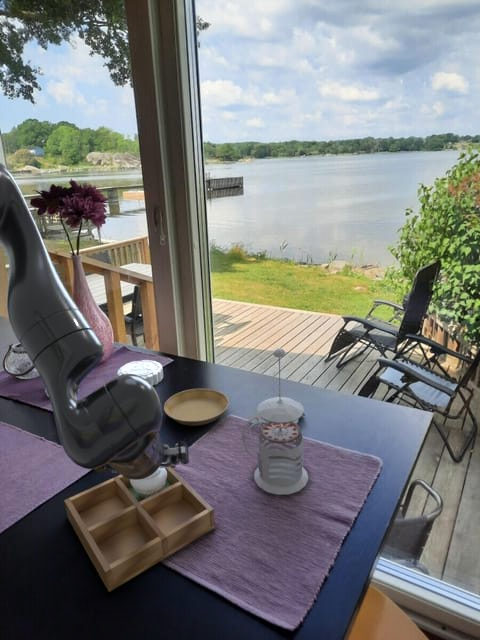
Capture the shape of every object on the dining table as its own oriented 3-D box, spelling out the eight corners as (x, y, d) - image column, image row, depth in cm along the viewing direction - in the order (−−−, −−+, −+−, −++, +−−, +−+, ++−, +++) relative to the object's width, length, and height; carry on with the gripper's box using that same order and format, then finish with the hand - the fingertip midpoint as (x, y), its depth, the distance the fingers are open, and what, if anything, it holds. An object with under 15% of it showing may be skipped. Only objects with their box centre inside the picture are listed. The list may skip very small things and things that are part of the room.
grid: (109, 592, 59) (105, 572, 58) (67, 518, 72) (63, 500, 71) (215, 527, 69) (214, 509, 68) (162, 472, 82) (160, 456, 81)
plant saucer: (187, 393, 111) (186, 383, 110) (240, 404, 104) (239, 394, 104) (151, 423, 98) (150, 412, 97) (209, 437, 92) (208, 427, 91)
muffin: (168, 479, 79) (164, 446, 77) (169, 503, 73) (165, 468, 71) (133, 484, 78) (128, 450, 76) (131, 509, 72) (125, 473, 70)
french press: (315, 490, 76) (318, 357, 68) (249, 500, 74) (244, 365, 66) (299, 455, 85) (299, 335, 77) (240, 464, 83) (234, 341, 75)
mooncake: (165, 368, 125) (164, 357, 124) (160, 388, 114) (159, 376, 112) (123, 371, 125) (121, 359, 123) (113, 391, 113) (112, 378, 112)
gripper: (184, 415, 63) (188, 438, 78) (82, 426, 62) (105, 447, 76) (188, 469, 60) (191, 482, 75) (80, 482, 59) (105, 493, 73)
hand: (148, 464), depth 76 cm, fingers open, 8 cm apart
